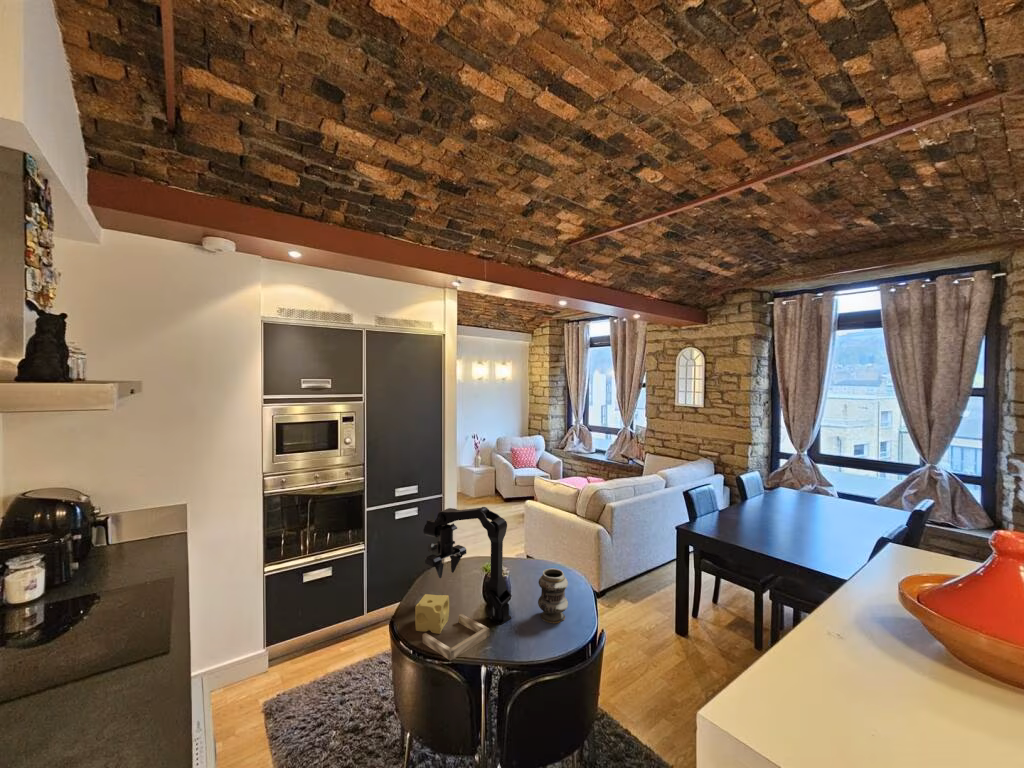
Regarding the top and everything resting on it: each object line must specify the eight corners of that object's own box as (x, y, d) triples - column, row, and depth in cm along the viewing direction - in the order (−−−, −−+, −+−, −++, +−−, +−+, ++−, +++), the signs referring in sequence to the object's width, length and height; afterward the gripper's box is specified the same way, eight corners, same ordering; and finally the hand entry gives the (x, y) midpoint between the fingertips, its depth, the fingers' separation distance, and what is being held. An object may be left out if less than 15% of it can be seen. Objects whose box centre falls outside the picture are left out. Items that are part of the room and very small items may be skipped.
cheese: (440, 634, 164) (440, 608, 164) (413, 631, 166) (413, 605, 166) (449, 619, 174) (449, 594, 174) (424, 617, 176) (424, 592, 176)
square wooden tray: (489, 636, 163) (489, 628, 163) (450, 660, 148) (450, 652, 148) (461, 621, 173) (461, 613, 173) (422, 642, 159) (422, 634, 159)
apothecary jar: (555, 628, 167) (555, 582, 167) (531, 617, 176) (531, 572, 175) (573, 616, 176) (573, 572, 176) (550, 605, 184) (550, 563, 184)
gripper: (450, 529, 199) (450, 563, 199) (417, 540, 185) (417, 577, 185) (467, 534, 192) (467, 570, 192) (433, 547, 178) (433, 585, 178)
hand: (446, 575), depth 187 cm, fingers open, 7 cm apart
